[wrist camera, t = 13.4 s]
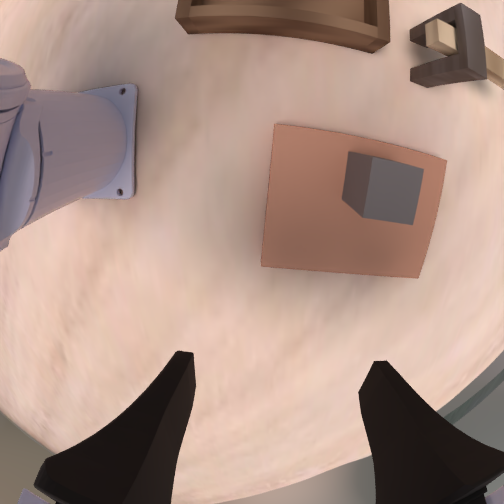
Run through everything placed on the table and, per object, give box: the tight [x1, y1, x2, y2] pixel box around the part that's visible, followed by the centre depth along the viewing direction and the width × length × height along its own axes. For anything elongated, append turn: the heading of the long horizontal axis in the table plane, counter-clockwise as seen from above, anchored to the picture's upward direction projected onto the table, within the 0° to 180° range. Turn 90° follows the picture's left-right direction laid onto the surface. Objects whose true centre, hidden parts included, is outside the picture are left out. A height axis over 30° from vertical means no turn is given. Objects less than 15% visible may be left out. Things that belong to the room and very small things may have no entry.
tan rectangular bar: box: [425, 19, 504, 89], centre depth 9 cm, size 8×2×1 cm, turn 85°
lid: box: [261, 124, 447, 278], centre depth 16 cm, size 12×9×6 cm
